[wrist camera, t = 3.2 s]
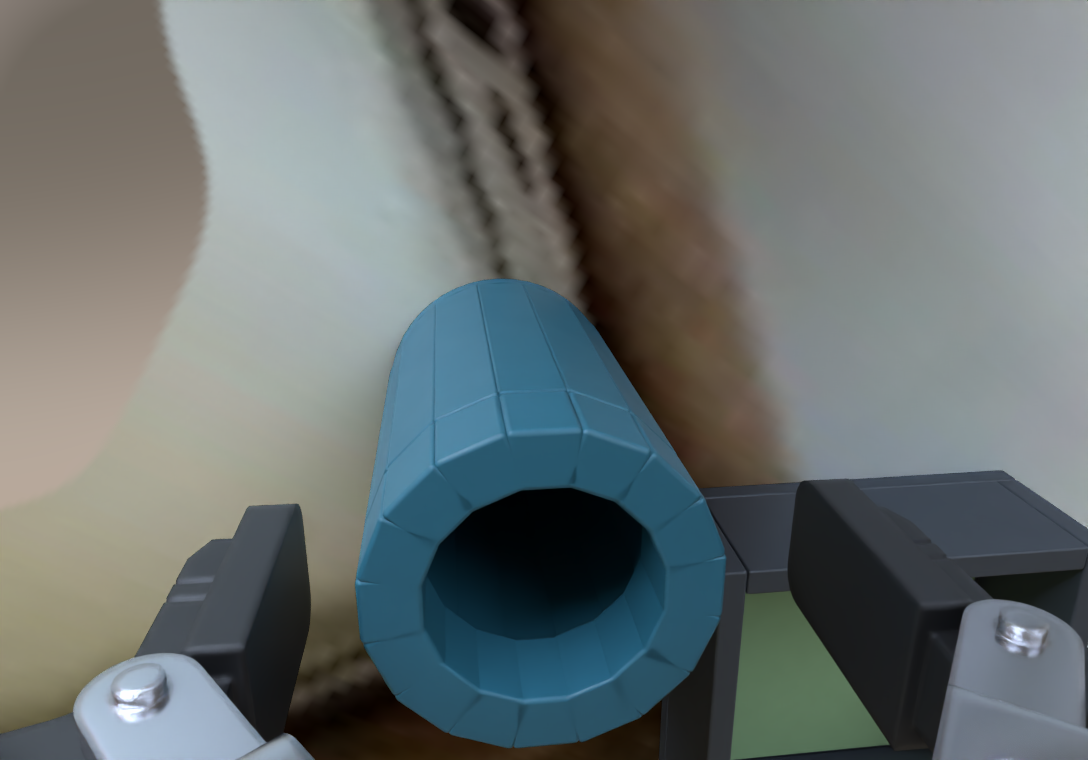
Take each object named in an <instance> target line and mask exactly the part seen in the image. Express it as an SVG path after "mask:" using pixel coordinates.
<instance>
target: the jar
mask: <svg viewBox="0 0 1088 760" xmlns="http://www.w3.org/2000/svg"><path fill="white" fill-rule="evenodd" d="M724 552H725V548H724V546H723V543H722V541H721V538H720V536H719V533H718V530H717V528H716V525H715V523H714V520H713V518H712V515H711V513H710V510H709V507H708V505H707V502H706V500H705V498H704V497H703V495H702V494H701V492H700V490H699V489H698V487H697V486H696V484H695V483H694V481H693V479H692V478H691V476H690V475H689V473H688V472H687V470H686V469H685V467H684V465H683V464H682V462H681V461H680V459H679V458H678V457H677V454H676V452H675V451H674V449H673V448H672V446H671V445H670V443H669V441H668V440H667V438H666V437H665V435H664V434H663V432H662V431H661V429H660V428H659V426H658V424H657V423H656V421H655V420H654V418H653V417H652V415H651V414H650V412H649V410H648V409H647V407H646V406H645V404H644V403H643V401H642V400H641V398H640V396H639V395H638V393H637V392H636V390H635V389H634V387H633V386H632V384H631V382H630V381H629V379H628V378H627V376H626V375H625V373H624V372H623V370H622V368H621V367H620V365H619V364H618V362H617V361H616V359H615V358H614V356H613V354H612V353H611V351H610V350H609V348H608V347H607V345H606V344H605V342H604V340H603V339H602V337H601V336H600V334H599V333H598V331H597V330H596V328H595V327H594V326H593V325H592V324H591V323H590V322H589V321H588V320H587V318H586V317H585V316H584V315H583V314H582V313H581V312H580V310H579V309H578V308H577V307H575V306H574V305H573V304H572V303H571V302H569V301H568V300H567V299H566V298H564V297H562V296H561V295H559V294H558V293H556V292H554V291H552V290H550V289H548V288H545V287H543V286H541V285H537V284H534V283H531V282H527V281H521V280H515V279H490V280H482V281H478V282H473V283H469V284H466V285H464V286H461V287H458V288H456V289H454V290H452V291H450V292H448V293H446V294H444V295H442V296H441V297H439V298H438V299H437V300H435V301H434V302H432V303H431V304H430V305H429V306H427V307H426V308H425V309H424V310H423V311H422V312H421V313H420V314H419V315H418V316H417V318H416V319H415V320H414V321H413V322H412V324H411V325H410V326H409V328H408V330H407V331H406V333H405V334H404V336H403V338H402V340H401V343H400V345H399V347H398V349H397V353H396V356H395V359H394V363H393V367H392V369H391V372H390V376H389V381H388V387H387V393H386V399H385V405H384V411H383V417H382V423H381V429H380V435H379V441H378V447H377V453H376V459H375V465H374V471H373V477H372V483H371V489H370V495H369V501H368V506H367V512H366V518H365V525H364V532H363V538H362V544H361V550H360V556H359V562H358V568H357V575H356V581H355V589H356V599H357V610H358V621H359V631H360V639H361V641H362V643H363V644H364V648H365V650H366V651H367V653H368V655H369V656H370V658H371V660H372V661H373V663H374V664H375V666H376V668H377V669H378V671H379V672H380V674H381V676H382V677H383V679H384V680H385V682H386V684H387V685H388V687H389V688H390V690H391V692H392V693H393V694H394V695H396V699H397V700H398V701H399V702H401V703H402V704H404V705H405V706H407V707H408V708H410V709H411V710H413V711H414V712H416V713H417V714H419V715H420V716H422V717H423V718H425V719H426V720H427V721H429V722H430V723H432V724H433V725H435V726H436V727H438V728H439V729H441V730H442V731H444V732H446V733H447V732H449V734H451V735H454V736H458V737H462V738H467V739H471V740H475V741H479V742H484V743H488V744H492V745H496V746H501V747H505V748H512V747H513V746H514V747H515V748H526V747H536V746H547V745H558V744H569V743H576V742H578V740H579V741H580V742H584V741H587V740H589V739H591V738H594V737H596V736H599V735H601V734H603V733H606V732H608V731H610V730H613V729H615V728H617V727H620V726H622V725H624V724H627V723H629V722H632V721H634V720H636V719H639V718H640V717H641V714H642V715H644V714H646V713H647V712H648V711H649V710H650V709H651V708H653V707H654V706H655V705H656V704H657V703H658V702H659V701H661V700H662V699H663V698H664V697H665V696H666V695H667V694H669V693H670V692H671V691H672V690H673V689H674V688H675V687H676V686H678V685H679V684H680V683H681V682H682V681H683V680H684V679H686V678H687V677H688V676H689V674H690V672H692V671H693V670H694V668H695V667H696V665H697V663H698V661H699V659H700V657H701V655H702V654H703V652H704V650H705V648H706V646H707V644H708V642H709V640H710V639H711V637H712V635H713V633H714V631H715V629H716V627H717V626H718V624H719V622H720V619H721V614H722V607H723V595H724V582H725V570H726V556H725V554H724Z"/></svg>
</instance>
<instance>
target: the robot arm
mask: <svg viewBox="0 0 1088 760" xmlns="http://www.w3.org/2000/svg"><path fill="white" fill-rule="evenodd" d="M787 572H788V582H789V587H790V591H791V594H792V597H793V599H794V601H795V603H796V605H797V606H798V608H799V609H800V611H801V612H802V614H803V615H804V617H805V618H806V620H807V621H808V623H809V624H810V626H811V627H812V629H813V630H814V632H815V633H816V635H817V636H818V638H819V639H820V641H821V642H822V644H823V645H824V647H825V648H826V650H827V651H828V653H829V654H830V656H831V657H832V659H833V660H834V662H835V663H836V665H837V666H838V668H839V669H840V671H841V672H842V674H843V675H844V677H845V678H846V680H847V681H848V683H849V684H850V686H851V687H852V689H853V690H854V692H855V693H856V695H857V696H858V698H859V699H860V701H861V702H862V704H863V705H864V707H865V708H866V710H867V711H868V713H869V714H870V716H871V717H872V719H873V720H874V722H875V723H876V725H877V726H878V728H879V729H880V731H881V732H882V734H883V735H884V737H885V738H886V740H887V741H888V743H889V744H890V746H891V747H892V749H893V750H894V751H902V750H914V749H926V748H929V749H930V750H931V752H932V753H933V758H932V760H1088V648H1087V647H1084V644H1083V641H1082V639H1081V637H1080V636H1079V635H1078V634H1077V632H1076V631H1075V630H1074V629H1073V628H1072V627H1070V626H1069V625H1068V624H1067V623H1065V622H1064V621H1063V620H1061V619H1059V618H1058V617H1056V616H1054V615H1052V614H1050V613H1048V612H1046V611H1044V610H1041V609H1039V608H1036V607H1034V606H1030V605H1027V604H1024V603H1019V602H1015V601H1009V600H999V599H993V598H992V597H991V596H990V595H989V594H988V593H987V592H986V591H985V590H984V589H983V588H981V587H980V586H979V585H978V584H977V583H976V582H975V581H974V580H973V579H972V578H971V577H970V576H969V575H968V574H967V573H966V572H965V571H964V570H963V569H961V568H960V567H959V566H958V565H957V564H956V563H955V562H954V561H953V560H952V559H951V558H947V556H946V553H945V552H944V551H942V550H941V549H940V548H939V547H938V546H937V545H936V544H935V543H931V539H930V538H929V537H928V536H927V535H926V534H925V533H924V532H922V531H921V530H920V529H919V528H918V527H917V526H916V525H915V524H914V523H913V522H912V521H910V520H908V519H906V518H904V517H903V516H901V515H899V514H897V513H895V512H893V511H891V510H889V509H887V508H885V507H884V506H880V507H878V506H877V505H876V504H875V503H874V502H873V501H872V500H871V499H870V498H869V497H868V496H867V495H866V494H865V493H864V492H863V491H862V490H861V489H860V488H859V487H858V486H857V485H856V484H855V483H854V482H853V481H851V480H849V479H830V480H809V481H802V482H801V483H800V485H799V486H798V489H797V492H796V497H795V505H794V514H793V522H792V531H791V539H790V547H789V556H788V566H787ZM310 614H311V595H310V584H309V574H308V565H307V555H306V546H305V537H304V527H303V519H302V512H301V509H300V506H299V504H282V505H261V506H249V507H248V508H247V509H246V511H245V513H244V516H243V518H242V520H241V522H240V524H239V526H238V528H237V530H236V533H235V535H234V537H233V539H215V540H211V541H210V542H209V543H207V544H206V545H205V546H204V547H202V548H201V549H200V550H198V551H197V552H196V553H195V554H193V555H192V556H191V557H190V558H188V559H187V561H186V563H185V565H184V567H183V569H182V571H181V572H180V574H179V576H178V578H177V580H176V585H173V587H172V589H171V591H170V593H169V595H168V596H167V602H166V603H164V604H163V606H162V607H161V609H160V611H159V613H158V615H157V617H156V619H155V620H154V622H153V624H152V626H151V628H150V630H149V631H148V633H147V635H146V637H145V639H144V641H143V642H142V644H141V646H140V648H139V650H138V652H137V654H136V655H135V657H134V658H132V659H129V660H127V661H124V662H122V663H119V664H117V665H115V666H113V667H111V668H109V669H107V670H106V671H104V672H102V673H101V674H99V675H98V676H97V677H95V678H94V679H93V680H92V681H90V682H89V683H88V684H87V685H86V686H85V687H84V689H83V690H82V691H81V692H80V694H79V695H78V697H77V699H76V701H75V704H74V708H73V712H72V713H70V714H67V715H65V716H62V717H59V718H56V719H53V720H50V721H46V722H43V723H39V724H35V725H32V726H28V727H25V728H21V729H17V730H14V731H10V732H7V733H3V734H0V760H314V758H313V757H312V756H311V755H310V754H309V753H308V752H307V751H306V749H305V748H304V747H303V746H302V745H301V744H300V743H299V742H298V741H297V740H296V739H295V738H294V737H293V736H291V735H289V734H287V733H283V731H284V727H285V723H286V719H287V715H288V711H289V707H290V703H291V699H292V695H293V691H294V687H295V684H296V680H297V676H298V672H299V668H300V664H301V660H302V656H303V652H304V648H305V644H306V640H307V636H308V631H309V625H310Z"/></svg>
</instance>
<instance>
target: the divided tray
mask: <svg viewBox="0 0 1088 760" xmlns="http://www.w3.org/2000/svg"><path fill="white" fill-rule="evenodd" d="M849 480H851V481H853V482H854V483H855V484H856V485H857V486H858V487H859V488H860V489H861V490H862V491H863V492H864V493H865V494H866V495H867V496H868V497H869V498H870V499H871V500H872V501H873V502H874V503H875V504H876V505H877V506H878V507H880V506H884V507H885V508H887V509H889V510H891V511H893V512H895V513H897V514H899V515H901V516H903V517H904V518H906V519H908V520H910V521H912V522H913V523H914V524H915V525H916V526H917V527H918V528H919V529H920V530H921V531H922V532H924V533H925V534H926V535H927V536H928V537H929V538H930V539H931V543H935V544H936V545H937V546H938V547H939V548H940V549H941V550H942V551H944V552H945V553H946V556H947V558H951V559H952V560H953V561H954V562H955V563H956V564H957V565H958V566H959V567H960V568H961V569H963V570H964V571H965V572H966V573H967V574H968V575H969V576H970V577H971V578H972V579H973V580H974V581H975V582H976V583H977V584H978V585H979V586H980V587H981V588H983V589H984V590H985V591H986V592H987V593H988V594H989V595H990V596H991V597H992V598H993V599H999V600H1009V601H1015V602H1019V603H1024V604H1027V605H1030V606H1034V607H1036V608H1039V609H1041V610H1044V611H1046V612H1048V613H1050V614H1052V615H1054V616H1056V617H1058V618H1059V619H1061V620H1063V621H1064V622H1065V623H1067V624H1068V625H1069V626H1070V627H1072V628H1073V629H1074V630H1075V631H1076V632H1077V634H1078V635H1079V636H1080V637H1081V639H1082V641H1083V644H1084V647H1087V645H1088V529H1087V528H1086V527H1084V526H1083V525H1081V524H1080V523H1079V522H1077V521H1076V520H1074V519H1073V518H1071V517H1070V516H1068V515H1067V514H1065V513H1064V512H1062V511H1061V510H1060V509H1058V508H1057V507H1055V506H1054V505H1052V504H1051V503H1049V502H1048V501H1046V500H1045V499H1044V498H1042V497H1041V496H1039V495H1038V494H1036V493H1035V492H1033V491H1032V490H1030V489H1029V488H1027V487H1026V486H1025V485H1023V484H1022V483H1020V482H1019V481H1016V480H1015V479H1014V478H1013V477H1011V476H1010V475H1008V474H1007V473H1006V472H1004V471H984V472H967V473H950V474H933V475H917V476H900V477H883V478H866V479H849ZM800 483H801V482H799V483H782V484H765V485H749V486H732V487H715V488H698V489H699V490H700V492H701V494H702V495H703V497H704V498H705V500H706V502H707V505H708V507H709V510H710V513H711V515H712V518H713V520H714V523H715V525H716V528H717V530H718V533H719V536H720V538H721V541H722V543H723V546H724V548H725V552H724V554H725V556H726V570H725V582H724V595H723V607H722V614H721V619H720V622H719V624H718V626H717V627H716V629H715V631H714V633H713V635H712V637H711V639H710V640H709V642H708V644H707V646H706V648H705V650H704V652H703V654H702V655H701V657H700V659H699V661H698V663H697V665H696V667H695V668H694V670H693V671H692V672H690V674H689V676H688V677H687V678H686V679H684V680H683V681H682V682H681V683H680V684H679V685H678V686H676V687H675V688H674V689H673V690H672V691H671V692H670V693H669V694H667V695H666V696H665V697H664V698H663V699H662V711H661V730H660V749H659V760H932V758H933V753H932V752H931V750H930V749H929V748H926V749H914V750H902V751H894V750H893V749H892V747H891V746H890V744H889V743H888V741H887V740H886V738H885V737H884V735H883V734H882V732H881V731H880V729H879V728H878V726H877V725H876V723H875V722H874V720H873V719H872V717H871V716H870V714H869V713H868V711H867V710H866V708H865V707H864V705H863V704H862V702H861V701H860V699H859V698H858V696H857V695H856V693H855V692H854V690H853V689H852V687H851V686H850V684H849V683H848V681H847V680H846V678H845V677H844V675H843V674H842V672H841V671H840V669H839V668H838V666H837V665H836V663H835V662H834V660H833V659H832V657H831V656H830V654H829V653H828V651H827V650H826V648H825V647H824V645H823V644H822V642H821V641H820V639H819V638H818V636H817V635H816V633H815V632H814V630H813V629H812V627H811V626H810V624H809V623H808V621H807V620H806V618H805V617H804V615H803V614H802V612H801V611H800V609H799V608H798V606H797V605H796V603H795V601H794V599H793V597H792V594H791V591H790V587H789V582H788V572H787V566H788V556H789V547H790V539H791V531H792V522H793V514H794V505H795V497H796V492H797V489H798V486H799V485H800Z"/></svg>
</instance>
